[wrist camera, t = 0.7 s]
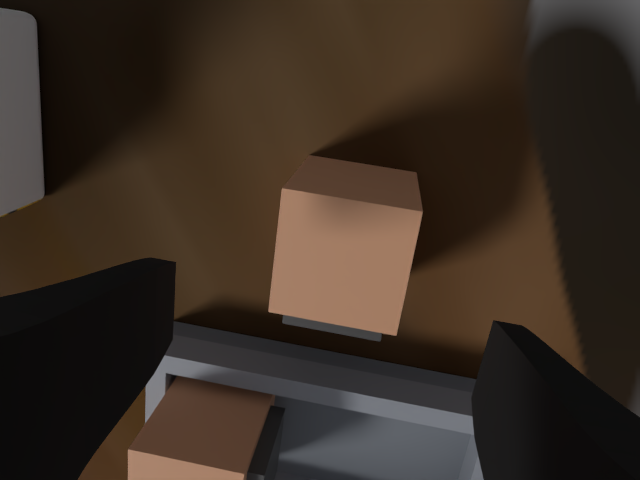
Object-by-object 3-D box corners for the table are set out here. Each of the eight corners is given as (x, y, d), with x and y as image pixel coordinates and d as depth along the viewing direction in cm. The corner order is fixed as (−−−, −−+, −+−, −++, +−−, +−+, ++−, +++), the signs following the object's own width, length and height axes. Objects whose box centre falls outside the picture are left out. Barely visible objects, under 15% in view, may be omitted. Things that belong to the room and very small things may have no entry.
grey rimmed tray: (498, 383, 22) (534, 500, 16) (461, 507, 24) (480, 645, 18) (172, 320, 23) (99, 409, 17) (167, 444, 25) (101, 557, 20)
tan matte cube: (309, 154, 20) (282, 188, 15) (416, 172, 19) (423, 211, 15) (294, 267, 21) (266, 328, 17) (393, 284, 21) (392, 352, 16)
